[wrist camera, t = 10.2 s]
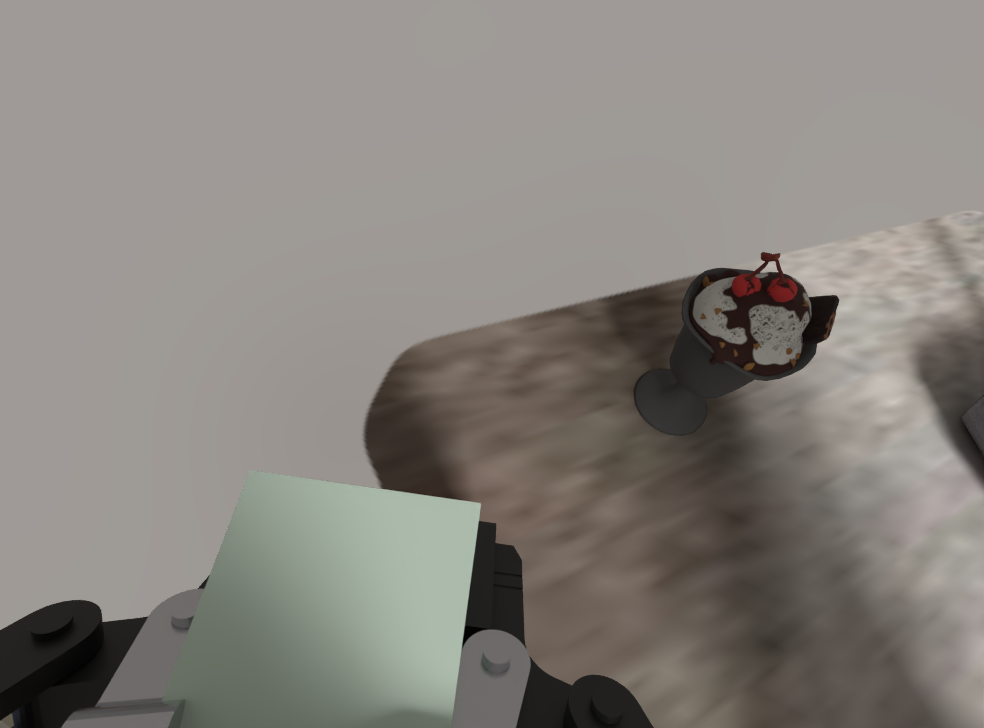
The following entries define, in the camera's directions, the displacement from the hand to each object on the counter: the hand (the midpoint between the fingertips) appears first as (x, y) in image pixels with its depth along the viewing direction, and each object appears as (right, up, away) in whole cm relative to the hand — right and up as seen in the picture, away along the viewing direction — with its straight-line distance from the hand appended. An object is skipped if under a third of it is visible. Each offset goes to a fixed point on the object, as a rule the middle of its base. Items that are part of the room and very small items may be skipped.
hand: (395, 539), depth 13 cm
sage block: (0, -4, +3) cm, 5 cm away
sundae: (+15, +2, +20) cm, 25 cm away
